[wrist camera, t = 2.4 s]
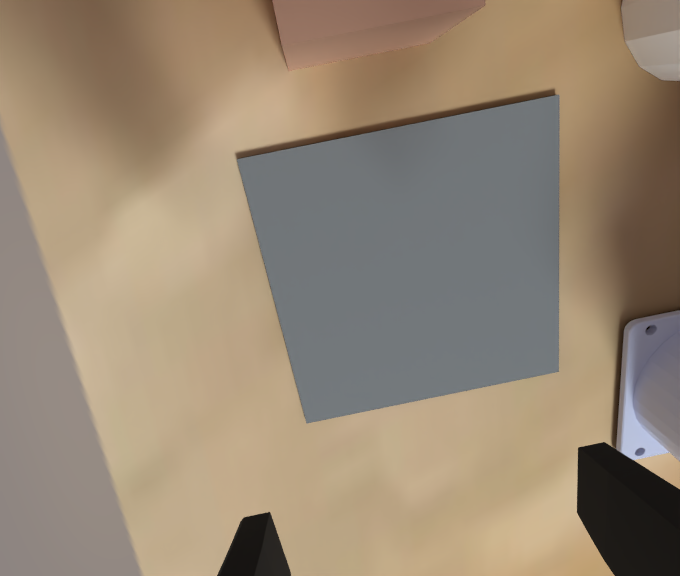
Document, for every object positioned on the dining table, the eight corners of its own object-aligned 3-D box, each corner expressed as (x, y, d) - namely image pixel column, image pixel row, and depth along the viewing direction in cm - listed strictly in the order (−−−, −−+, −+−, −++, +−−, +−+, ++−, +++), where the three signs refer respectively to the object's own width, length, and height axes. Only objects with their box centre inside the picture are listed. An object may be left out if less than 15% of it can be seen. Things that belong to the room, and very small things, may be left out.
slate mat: (556, 94, 16) (559, 94, 16) (556, 369, 20) (558, 371, 20) (237, 159, 16) (236, 159, 15) (306, 420, 20) (306, 423, 20)
